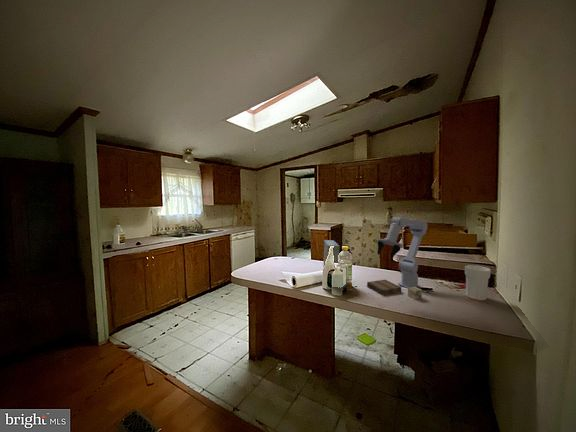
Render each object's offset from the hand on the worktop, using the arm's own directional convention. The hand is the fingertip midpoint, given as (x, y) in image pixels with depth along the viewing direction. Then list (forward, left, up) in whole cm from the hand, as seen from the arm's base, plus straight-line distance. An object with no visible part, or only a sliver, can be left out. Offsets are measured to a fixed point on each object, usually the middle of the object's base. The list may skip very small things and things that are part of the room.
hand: (384, 255), depth 133 cm
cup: (-48, +19, -24) cm, 57 cm away
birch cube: (-16, +7, -24) cm, 29 cm away
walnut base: (-7, -8, -24) cm, 26 cm away
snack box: (+14, -38, -24) cm, 47 cm away
